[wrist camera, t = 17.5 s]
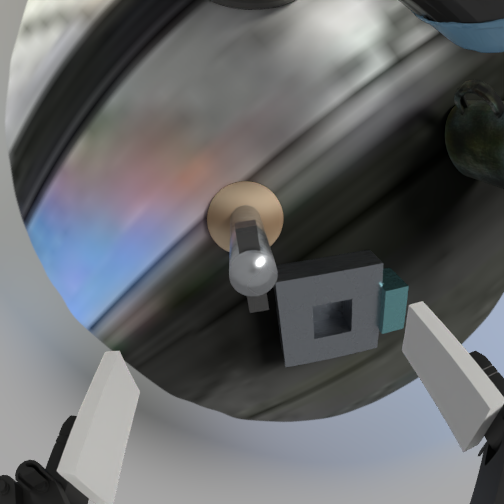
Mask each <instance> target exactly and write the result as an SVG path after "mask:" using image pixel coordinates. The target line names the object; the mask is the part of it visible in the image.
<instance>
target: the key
mask: <svg viewBox="0 0 504 504" xmlns="http://www.w3.org/2000/svg"><path fill="white" fill-rule="evenodd" d="M277 276H278V271H277V267H276V264H275V261H274V258H273V255H272V251H271V248H270V245H269V242H268V239H267V236H266V232H265V229H264V226H263V223H262V220H261V217H260V214H259V212H258V211H257V210H256V209H255V208H254V207H252V206H248V205H243V206H240V207H238V208H236V209H235V210H234V211H233V212H232V214H231V217H230V264H229V277H230V282H231V284H232V286H233V287H234V289H235V290H236V291H238V292H239V293H241V294H243V295H246V296H247V300H248V305H249V311H250V313H253V312H259V311H265V310H269V306H268V299H267V292H268V291H269V290H271V289H272V288H273V286H274V285H275V283H276V281H277Z"/></svg>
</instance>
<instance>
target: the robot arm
mask: <svg viewBox="0 0 504 504" xmlns="http://www.w3.org/2000/svg"><path fill="white" fill-rule="evenodd" d="M210 1H212V2H215V3H217V4H220V5H223V6H227V7H232V8H238V9H249V10H257V9H268V8H274V7H278V6H282V5H285V4H288V3H290V2H292V1H294V0H210ZM399 1H400V2H401V3H403V4H404V5H405V6H407V7H408V8H409V9H410V10H411V11H412V12H413V13H414V14H415V16H417V17H418V18H419V19H420V20H422V21H424V22H426V23H428V24H430V25H432V26H433V27H434V28H435V29H437V30H438V31H439V32H440V33H442V34H443V35H444V36H445V37H446V38H448V39H449V40H450V41H451V42H453V43H454V44H456V45H458V46H460V47H462V48H464V49H469V50H475V51H478V52H482V53H498V52H504V0H399ZM402 352H403V353H404V355H405V356H406V358H407V359H408V361H409V362H410V364H411V365H412V367H413V369H414V370H415V372H416V373H417V375H418V376H419V378H420V380H421V381H422V383H423V384H424V386H425V388H426V389H427V391H428V392H429V394H430V396H431V397H432V399H433V400H434V402H435V404H436V406H437V407H438V409H439V410H440V412H441V414H442V415H443V417H444V419H445V420H446V422H447V424H448V426H449V427H450V429H451V431H452V432H453V434H454V436H455V438H456V440H457V441H458V443H459V445H460V447H461V449H462V450H463V452H465V451H467V450H468V449H470V448H472V447H474V446H476V445H478V444H479V442H480V441H481V440H482V438H483V437H484V436H485V438H486V440H487V442H486V443H485V445H484V446H483V447H482V449H481V450H480V452H479V454H478V456H480V455H481V454H482V453H483V457H482V461H481V466H480V470H479V474H478V478H477V482H476V485H475V488H474V492H473V495H472V499H471V502H470V504H504V378H503V377H502V376H501V375H500V373H498V372H497V370H496V368H495V367H494V366H492V364H491V362H490V361H489V360H488V359H487V358H486V357H485V356H484V355H482V354H480V353H479V352H477V351H474V352H471V353H468V352H467V351H466V349H465V348H464V347H463V346H462V345H461V344H460V342H459V341H458V340H457V339H456V338H455V337H454V336H453V334H452V333H451V332H450V331H449V330H448V329H447V328H446V326H445V325H444V324H443V323H442V322H441V321H440V320H439V319H438V318H437V316H436V315H435V314H434V313H433V312H432V311H431V310H430V309H429V308H428V307H427V306H426V304H425V303H424V302H423V301H422V302H418V303H415V304H411V305H409V308H408V315H407V322H406V329H405V335H404V341H403V347H402ZM139 394H140V391H139V389H138V387H137V385H136V383H135V381H134V379H133V378H132V376H131V374H130V372H129V370H128V368H127V365H126V363H125V361H124V359H123V357H122V355H121V353H120V351H108V352H105V353H104V355H103V358H102V360H101V362H100V364H99V366H98V368H97V371H96V373H95V375H94V378H93V380H92V382H91V384H90V387H89V389H88V391H87V393H86V396H85V398H84V401H83V403H82V405H81V408H80V410H79V413H78V415H77V416H70V417H69V418H68V419H67V420H66V421H65V422H64V424H63V426H62V428H61V430H60V433H59V436H58V438H57V440H56V444H55V445H54V448H53V450H52V453H51V455H50V458H49V461H48V463H47V466H46V469H44V468H43V467H42V466H41V465H40V464H39V463H38V462H36V461H34V460H28V461H24V462H23V463H22V464H20V465H19V467H18V468H17V470H16V474H15V476H16V480H17V481H18V482H16V481H14V480H13V479H12V478H11V477H9V476H8V475H2V476H0V504H88V500H89V499H90V500H91V501H92V502H93V503H95V504H114V500H115V495H116V490H117V485H118V480H119V476H120V471H121V467H122V462H123V457H124V454H125V449H126V445H127V441H128V437H129V433H130V429H131V425H132V421H133V417H134V413H135V410H136V406H137V402H138V398H139ZM483 451H484V452H483Z"/></svg>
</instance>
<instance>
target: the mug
mask: <svg viewBox="0 0 504 504" xmlns="http://www.w3.org/2000/svg"><path fill="white" fill-rule="evenodd" d="M466 93H475V94H477V95H479V96H480V97H482V98H483V99H484V100H485V101H473V100H466V97H465V94H466ZM454 100H455V104H456V105H455V106H454V107H453V109H452V110H451V112H450V113H449V115H448V118H447V120H446V125H445V144H446V148H447V151H448V154H449V156H450V159H451V161H452V162H453V164H454V166H455V167H456V168H457V169H458V171H460V172H461V173H462V174H463V175H465V176H467V177H470V178H473V179H476V180H480V181H483V182H485V183H488V184H491V185H494V186H497V187H500V188H503V189H504V101H502V100H501V99H500V97H499V96H498V94H497V93H496V92H495V91H494V90H493V88H492V87H491V86H490V85H488V84H486V83H484V82H483V81H479V80H470V81H466V82H465V83H463V84H462V85H461V86H460V87H459V88H458V89H457V91H456V93H455V96H454Z"/></svg>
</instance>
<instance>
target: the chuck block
mask: <svg viewBox="0 0 504 504" xmlns="http://www.w3.org/2000/svg"><path fill="white" fill-rule="evenodd" d="M276 267H277V271H278V276H277V281H276V283H275V285H274V286H273V287H274V295H275V302H276V310H277V318H278V326H279V334H280V342H281V349H282V353H283V358H284V362H285V367H290V366H295V365H301V364H306V363H311V362H316V361H321V360H326V359H331V358H335V357H340V356H344V355H348V354H353V353H357V352H361V351H365V350H369V349H373V348H377V343H378V334H379V330H380V331H381V333H382V334H383V333H387V332H391V331H395V330H398V329H402V328H403V327H404V320H405V312H406V304H407V295H408V285H407V284H406V283H405V282H404V281H403V280H402V279H401V278H400V277H399V276H398V275H397V274H396V273H395V272H394V271H393V270H392V269H391V268H386V269H383V262H382V261H381V260H380V259H379V258H378V257H376V256H375V255H374V254H373V253H372V252H371V251H370V250H364V251H358V252H352V253H347V254H341V255H335V256H329V257H323V258H317V259H311V260H305V261H299V262H293V263H287V264H281V265H276Z"/></svg>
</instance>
